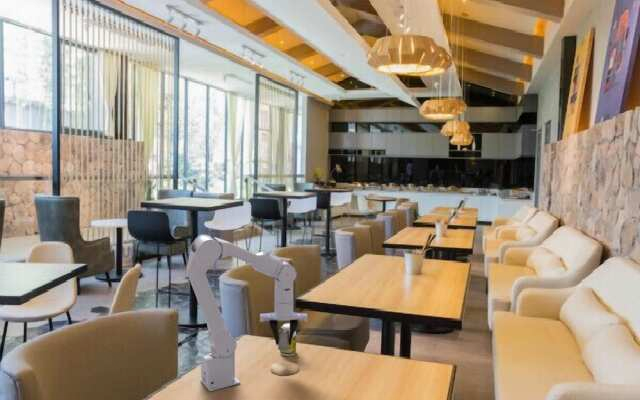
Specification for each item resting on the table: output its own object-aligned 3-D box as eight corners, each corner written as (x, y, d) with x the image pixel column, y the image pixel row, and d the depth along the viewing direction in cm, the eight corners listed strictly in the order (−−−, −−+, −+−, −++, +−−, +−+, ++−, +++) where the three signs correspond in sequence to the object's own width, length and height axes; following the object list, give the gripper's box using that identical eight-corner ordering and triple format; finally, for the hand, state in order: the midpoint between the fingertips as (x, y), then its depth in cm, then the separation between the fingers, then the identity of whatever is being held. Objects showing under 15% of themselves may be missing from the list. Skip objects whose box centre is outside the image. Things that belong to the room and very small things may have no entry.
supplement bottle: (295, 356, 168) (295, 328, 167) (279, 356, 168) (279, 328, 167) (296, 350, 173) (296, 322, 172) (281, 349, 173) (281, 322, 172)
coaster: (278, 377, 152) (278, 376, 152) (265, 366, 160) (265, 365, 159) (304, 370, 157) (304, 369, 157) (289, 360, 164) (289, 359, 164)
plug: (281, 351, 154) (281, 330, 153) (276, 347, 157) (276, 326, 156) (291, 349, 156) (291, 328, 155) (285, 345, 158) (285, 324, 158)
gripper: (307, 296, 159) (306, 338, 160) (260, 297, 158) (260, 338, 159) (307, 303, 152) (307, 347, 153) (259, 303, 151) (259, 347, 152)
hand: (283, 343), depth 156 cm, fingers closed on plug, 3 cm apart
